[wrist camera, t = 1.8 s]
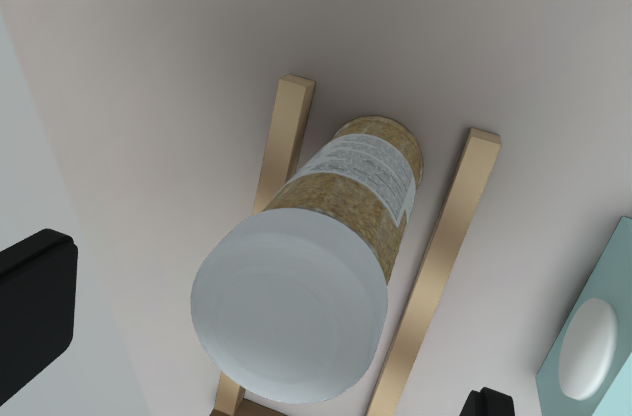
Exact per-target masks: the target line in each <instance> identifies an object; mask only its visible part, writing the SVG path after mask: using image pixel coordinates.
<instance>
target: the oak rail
mask: <svg viewBox="0 0 632 416" xmlns="http://www.w3.org/2000/svg"><path fill="white" fill-rule="evenodd" d="M315 83H316V82H315V81H311V80H308V79H305V78H301V77H298V76H295V75H291V74H290V75H288V76H285V77H283V78H281V79H279V84H278V89H277V94H276V99H275V104H274V109H273V114H272V119H271V124H270V129H269V134H268V139H267V144H266V149H265V154H264V159H263V164H262V169H261V174H260V179H259V184H258V189H257V194H256V199H255V204H254V209H253V214H252V216H253V215H255V214H257V213H260V212H261V211H262V210H263V209H264V208H265V207H266V206H267V205H268V204H269V203H270V202H271V201H272V199H273V197H274V196H275V195H276V193H277V192H278V191H279V190H280V189H281V188H282V187H283V186H284V185H285V184H286V183H287V182H288V181H289V180H290V179H291V178H292V177H293V176H294V174H295V170H296V166H297V161H298V157H299V153H300V148H301V144H302V140H303V135H304V131H305V126H306V122H307V118H308V113H309V109H310V105H311V100H312V96H313V92H314V87H315ZM500 148H501V140H500V136H498V135H495V134H491V133H488V132H485V131H481V130H478V129H474V128H471V130H470V133H469V136H468V138H467V141H466V144H465V146H464V149H463V152H462V155H461V157H460V160H459V163H458V165H457V168H456V171H455V173H454V176H453V179H452V182H451V184H450V187H449V190H448V192H447V195H446V198H445V200H444V203H443V206H442V209H441V211H440V214H439V217H438V219H437V222H436V225H435V227H434V230H433V233H432V236H431V238H430V241H429V244H428V246H427V249H426V252H425V254H424V257H423V260H422V263H421V265H420V268H419V271H418V273H417V276H416V279H415V281H414V284H413V287H412V290H411V292H410V295H409V298H408V300H407V303H406V306H405V308H404V311H403V314H402V317H401V319H400V322H399V325H398V327H397V330H396V333H395V335H394V338H393V341H392V344H391V346H390V349H389V352H388V354H387V357H386V360H385V362H384V365H383V368H382V371H381V373H380V376H379V379H378V381H377V384H376V387H375V389H374V392H373V395H372V398H371V400H370V403H369V406H368V408H367V411H366V414H365V416H393V414H394V411H395V409H396V406H397V404H398V401H399V399H400V396H401V394H402V391H403V389H404V386H405V384H406V381H407V379H408V376H409V374H410V371H411V369H412V367H413V364H414V362H415V359H416V357H417V354H418V352H419V349H420V347H421V344H422V342H423V339H424V337H425V334H426V332H427V329H428V327H429V324H430V322H431V319H432V317H433V314H434V312H435V309H436V307H437V304H438V302H439V299H440V297H441V294H442V292H443V289H444V287H445V284H446V282H447V279H448V277H449V274H450V272H451V269H452V267H453V264H454V262H455V259H456V257H457V255H458V252H459V250H460V247H461V245H462V242H463V240H464V237H465V235H466V232H467V230H468V227H469V225H470V222H471V220H472V217H473V215H474V212H475V210H476V207H477V205H478V202H479V200H480V197H481V195H482V192H483V190H484V187H485V185H486V182H487V180H488V177H489V175H490V172H491V170H492V167H493V165H494V162H495V160H496V157H497V155H498V152H499V150H500ZM244 393H245V388H243V387H242V386H240V385H239V384H237V383H236V382H234V381H233V380H232V379H230V378H229V377H228V376H227V375H225V374H224V373H223V372H222V371H221V375H220V380H219V385H218V390H217V395H216V400H215V405H214V409H213V411H212V412H211V414H210V415H209V416H286V415H283V414H281V413H278V412H276V411H273V410H271V409H268V408H266V407H263V406H261V405H258V404H256V403H253V402H251V401H249V400H246V399H244V398H243V397H244Z"/></svg>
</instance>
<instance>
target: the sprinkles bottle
mask: <svg viewBox="0 0 632 416" xmlns="http://www.w3.org/2000/svg"><path fill="white" fill-rule="evenodd" d="M422 176H423V160H422V154H421V151H420V148H419V146H418V144H417V142H416V140H415V138H414V136H413V135H412V134H411V133H410V132H408V131H407V130H406V129H405V128H404V127H403V126H402V125H400V124H398V123H397V122H395V121H393V120H391V119H387V118H384V117H381V116H367V117H361V118H357V119H355V120H352V121H350V122H348V123H346V124H345V125H343V126H342V127H341V128H340V129H339V130H338V131H337V132H336V133H335V134H334V136H333V137H332V139H331V140H330V141H329V143H328V144H326V145H325V146H324V147H322V148H321V149H320V150H319V151H318V152H317V153H316V154H315V155H314V156H313V157H312V158H311V159H310V160H309V161H308V162H307V163H306V164H305V165H304V166H303V167H302V168H301V169H300V170H299V171H298V172H297V173H296V174H295V175H294V176H293V177H292V178H291V179H290V180H289V181H288V182H287V183H286V184H285V185H284V186H283V187H282V188H281V189H280V190H279V191H278V192H277V193H276V195H275V196H274V197H273V199H272V201H271V202H270V203H269V204H268V205H267V206H266V207H265V208H264V209H263V210H262V211H261V212H260V213H257V214H255V215H253V216H250V217H249V218H247V219H246V220H244V221H242V222H241V223H240V224H239V225H237V226H236V227H235V228H234V229H233V230H232V231H231V232H230V233H229V234H228V235H227V236H226V237H225V238H224V239H223V240H222V241H221V242H220V243H219V244H218V245H217V246H216V248H215V249H214V250H213V251H212V252H211V253H210V254H209V255H208V257H207V258H206V259H205V260H204V262H203V263H202V265H201V267H200V268H199V270H198V272H197V275H196V277H195V280H194V283H193V287H192V292H191V314H192V321H193V324H194V328H195V331H196V334H197V336H198V338H199V340H200V343H201V344H202V346H203V348H204V350H205V351H206V353H207V354H208V356H209V357H210V359H211V360H212V361H213V362H214V363H215V364H216V366H217V367H218V368H219V369H220V370H221V371H222V372H223V373H224V374H225V375H227V376H228V377H229V378H230V379H232V380H233V381H234V382H236V383H237V384H239V385H240V386H242V387H243V388H245V389H247V390H249V391H250V392H252V393H255V394H257V395H259V396H261V397H264V398H267V399H271V400H274V401H279V402H284V403H293V404H307V403H316V402H321V401H325V400H328V399H331V398H334V397H336V396H338V395H340V394H342V393H343V392H345V391H347V390H348V389H350V388H351V387H352V386H354V385H355V384H356V383H357V382H358V381H359V380H360V379H361V378H362V376H363V375H364V374H365V372H366V371H367V369H368V368H369V366H370V364H371V362H372V360H373V358H374V355H375V352H376V349H377V346H378V343H379V340H380V337H381V333H382V329H383V325H384V322H385V318H386V314H387V307H388V298H387V285H388V282H389V279H390V277H391V272H392V269H393V266H394V264H395V259H396V256H397V254H398V252H399V246H400V243H401V241H402V239H403V236H404V234H405V232H406V229H407V226H408V222H409V219H410V215H411V212H412V208H413V204H414V200H415V192H416V190H417V189H418V187H419V185H420V182H421V180H422Z"/></svg>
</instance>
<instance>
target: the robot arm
mask: <svg viewBox="0 0 632 416" xmlns="http://www.w3.org/2000/svg"><path fill="white" fill-rule="evenodd" d="M77 259H78V248H77V246H76V245H75V244H74V241H73V239H72V237H70V236H68V235H66V234H63V233H60V232H57V231H55V230H52V229H43V230H41V231H39V232H37V233H35V234H33V235H32V236H30V237H28V238H26V239H24V240H22V241H20V242H18V243H16V244H14V245H13V246H11V247H9V248H7V249H5V250H3V251H1V252H0V406H2V405H3V403H5V402H6V401H7V400H8V399H10V398H11V397H12V396H13V395H14V394H16V393H17V392H18V391H19V390H20V389H21V388H23V387H24V386H25V385H26V384H27V383H28V382H30V381H31V380H32V379H33V378H34V377H35V376H36V375H37V374H39V373H40V372H41V371H42V370H43V369H44V368H46V367H47V366H48V365H49V364H50V363H51V362H53V361H54V360H55V359H56V358H57V357H59V356H60V355H61V354H62V353H63V352H64V351H65V350H66V349H67V348H68V347H69V345H70V343H71V341H72V338H73V327H74V309H75V292H76V276H77ZM459 416H515V412H514V404H513V399H512V397H511V396H508V395H506V394H503V393H500V392H497V391H495V390H492V389H489V388H486V387H483V388H482V389H481V391H480V393H479V392H477V391H474V390H472V391H471V392H470V394H469V396H468V398H467V400H466V402H465V404H464V407H463V409H462V411H461V413H460V415H459Z"/></svg>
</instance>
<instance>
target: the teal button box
mask: <svg viewBox="0 0 632 416" xmlns="http://www.w3.org/2000/svg"><path fill="white" fill-rule="evenodd" d="M536 383H537V389H538V395H539V401H540V407H541V413H542V416H632V219H630V218H627V217H623V216H622V218H621V220H620V222H619V224H618V226H617V227H616V229H615V231H614V233H613V235H612V237H611V239H610V240H609V242H608V244H607V246H606V248H605V250H604V252H603V253H602V255H601V257H600V259H599V261H598V263H597V264H596V266H595V268H594V270H593V272H592V274H591V276H590V277H589V279H588V281H587V283H586V285H585V287H584V289H583V290H582V292H581V294H580V296H579V298H578V300H577V302H576V303H575V305H574V307H573V309H572V311H571V313H570V315H569V316H568V318H567V320H566V322H565V324H564V326H563V328H562V329H561V331H560V333H559V335H558V337H557V339H556V341H555V342H554V344H553V346H552V348H551V350H550V352H549V353H548V355H547V357H546V359H545V361H544V363H543V365H542V366H541V368H540V370H539V372H538V374H537V376H536Z"/></svg>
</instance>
